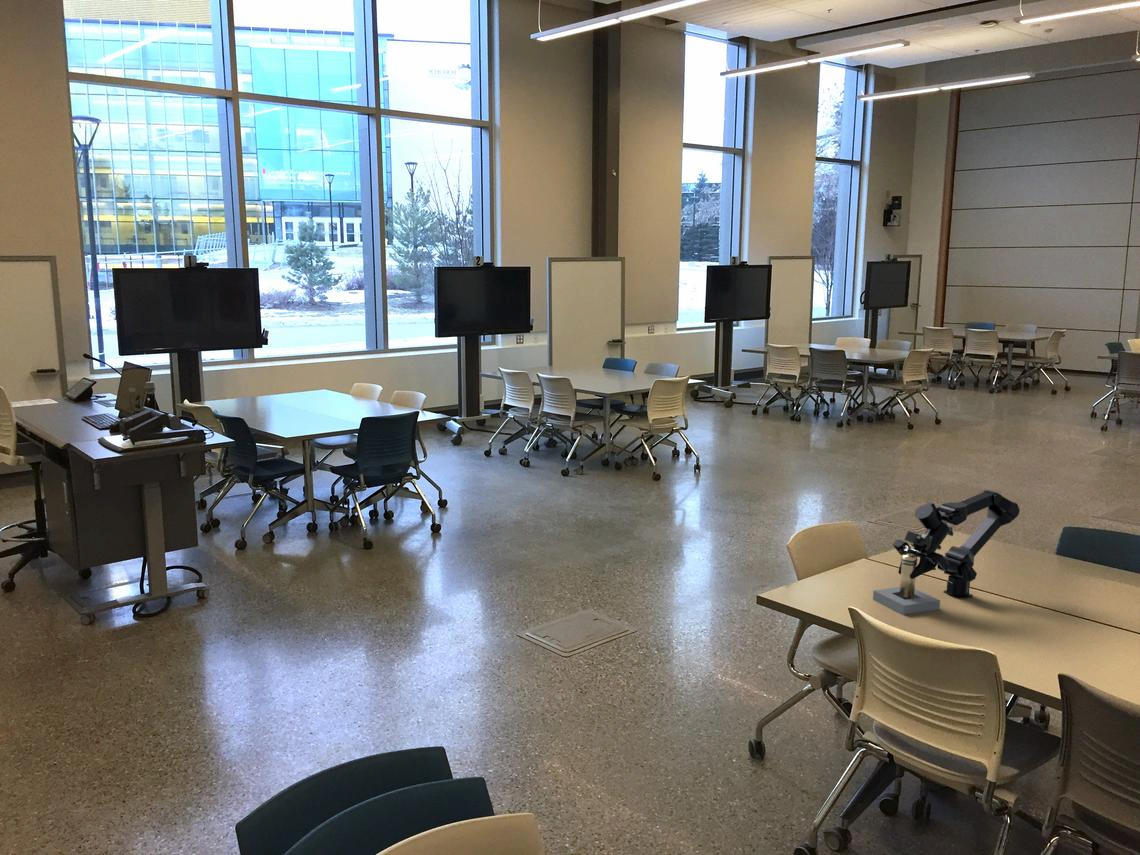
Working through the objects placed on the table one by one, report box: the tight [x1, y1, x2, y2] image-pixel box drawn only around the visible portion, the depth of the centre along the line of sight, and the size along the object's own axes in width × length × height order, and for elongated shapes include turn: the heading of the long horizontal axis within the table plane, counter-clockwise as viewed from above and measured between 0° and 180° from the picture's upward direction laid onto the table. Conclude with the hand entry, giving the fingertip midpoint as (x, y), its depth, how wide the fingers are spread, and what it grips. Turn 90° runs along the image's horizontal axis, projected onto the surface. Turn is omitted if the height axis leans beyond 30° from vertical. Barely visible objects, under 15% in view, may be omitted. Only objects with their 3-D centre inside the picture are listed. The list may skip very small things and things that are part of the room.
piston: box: [899, 553, 919, 598], centre depth 278 cm, size 5×5×13 cm
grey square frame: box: [872, 586, 941, 616], centre depth 279 cm, size 14×14×3 cm
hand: (905, 575), depth 277 cm, fingers closed on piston, 4 cm apart
